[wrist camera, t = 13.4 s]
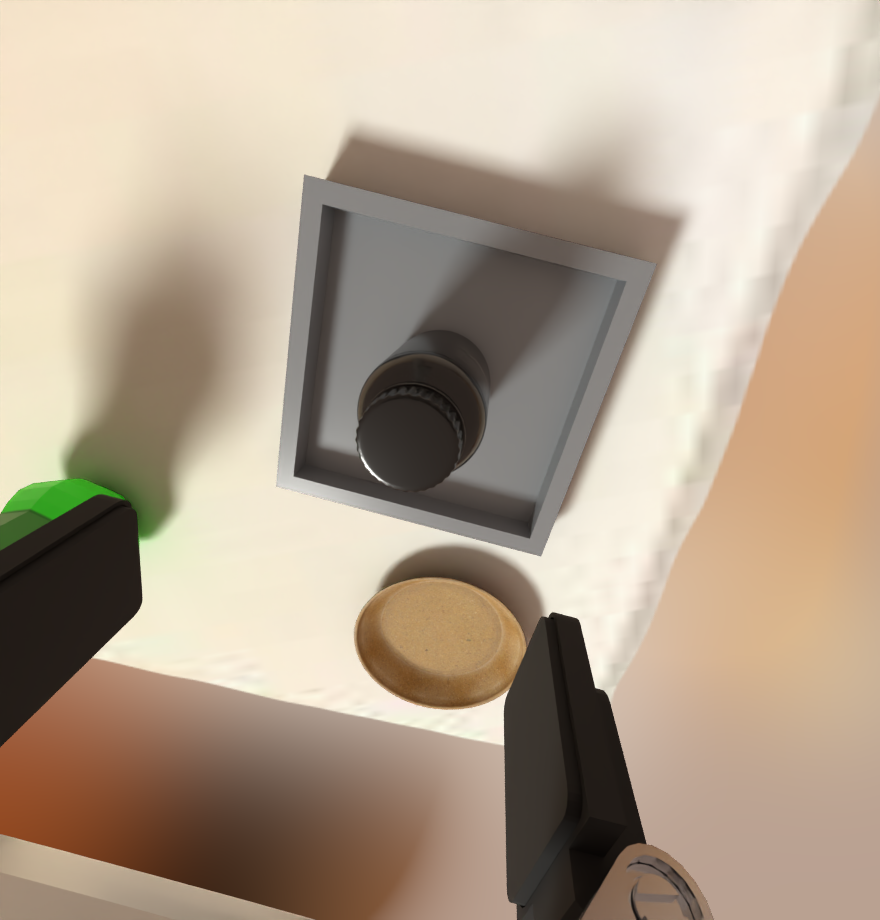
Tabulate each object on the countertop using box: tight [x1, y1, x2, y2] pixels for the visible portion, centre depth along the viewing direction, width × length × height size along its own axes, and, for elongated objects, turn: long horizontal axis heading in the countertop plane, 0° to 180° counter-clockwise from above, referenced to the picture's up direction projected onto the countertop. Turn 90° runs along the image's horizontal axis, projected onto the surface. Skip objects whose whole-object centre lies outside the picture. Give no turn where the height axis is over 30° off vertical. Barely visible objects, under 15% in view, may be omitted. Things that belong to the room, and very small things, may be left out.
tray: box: [276, 175, 657, 556], centre depth 30 cm, size 20×20×3 cm
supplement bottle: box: [355, 330, 491, 492], centre depth 25 cm, size 7×7×12 cm
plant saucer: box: [354, 577, 526, 710], centre depth 40 cm, size 15×15×3 cm
